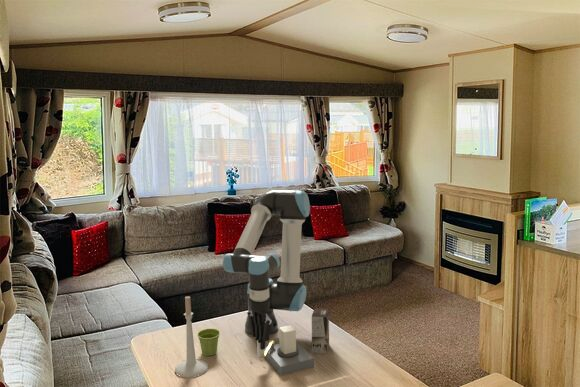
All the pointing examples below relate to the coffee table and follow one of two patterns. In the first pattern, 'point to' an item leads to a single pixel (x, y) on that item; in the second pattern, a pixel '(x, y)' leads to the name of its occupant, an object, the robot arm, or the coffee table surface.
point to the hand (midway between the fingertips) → (261, 355)
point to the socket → (290, 360)
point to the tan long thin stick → (268, 349)
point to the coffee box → (320, 330)
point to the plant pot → (208, 341)
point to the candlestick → (190, 350)
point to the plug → (287, 342)
